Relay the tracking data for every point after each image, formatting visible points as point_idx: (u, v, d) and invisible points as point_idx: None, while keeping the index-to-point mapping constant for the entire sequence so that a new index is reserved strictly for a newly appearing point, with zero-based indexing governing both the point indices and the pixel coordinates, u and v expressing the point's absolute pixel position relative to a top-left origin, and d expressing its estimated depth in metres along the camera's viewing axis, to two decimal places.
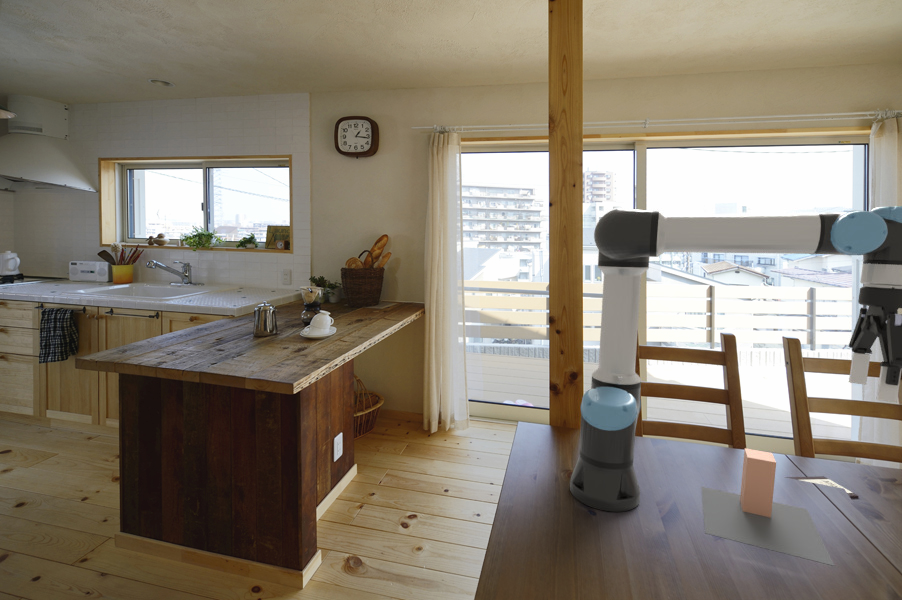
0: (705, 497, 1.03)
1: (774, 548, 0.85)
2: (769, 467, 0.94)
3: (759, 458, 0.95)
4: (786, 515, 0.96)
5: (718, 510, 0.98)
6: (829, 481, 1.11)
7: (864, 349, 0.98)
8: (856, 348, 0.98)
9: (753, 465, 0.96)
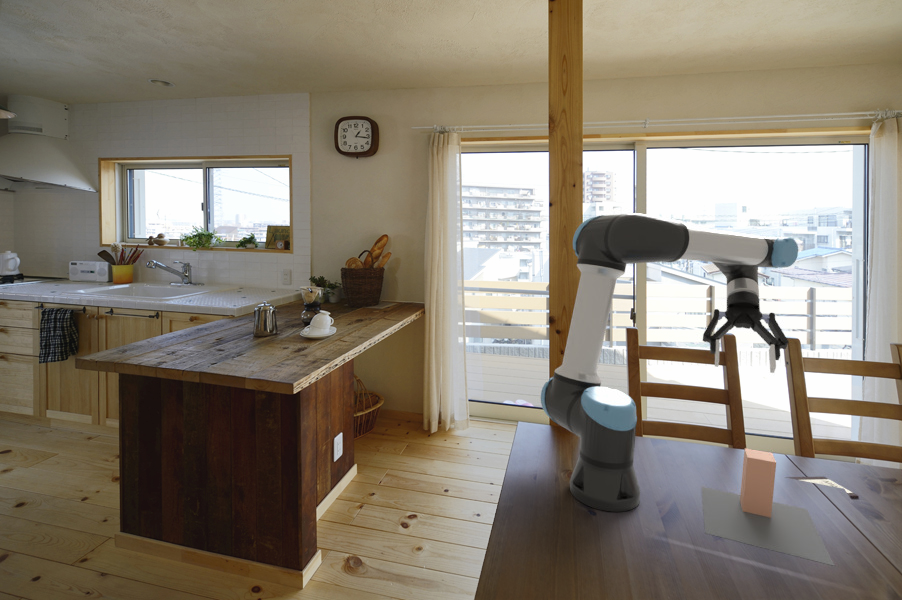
0: (705, 497, 1.03)
1: (774, 548, 0.85)
2: (769, 467, 0.94)
3: (759, 458, 0.95)
4: (786, 515, 0.96)
5: (718, 510, 0.98)
6: (829, 481, 1.11)
7: None
8: (718, 336, 1.19)
9: (753, 465, 0.96)
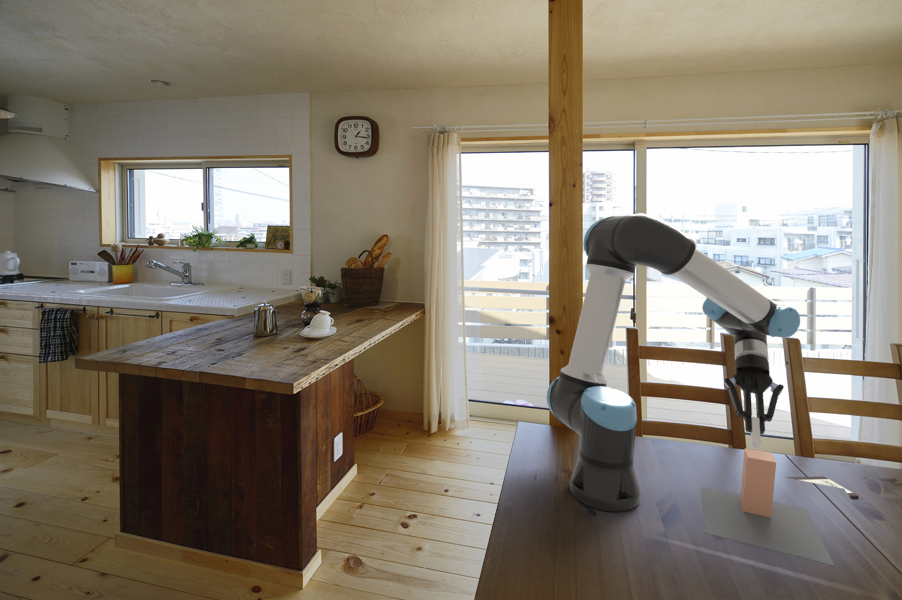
0: (705, 497, 1.03)
1: (774, 548, 0.85)
2: (769, 467, 0.94)
3: (759, 458, 0.95)
4: (786, 515, 0.96)
5: (718, 510, 0.98)
6: (829, 481, 1.11)
7: None
8: (751, 411, 1.12)
9: (753, 465, 0.96)
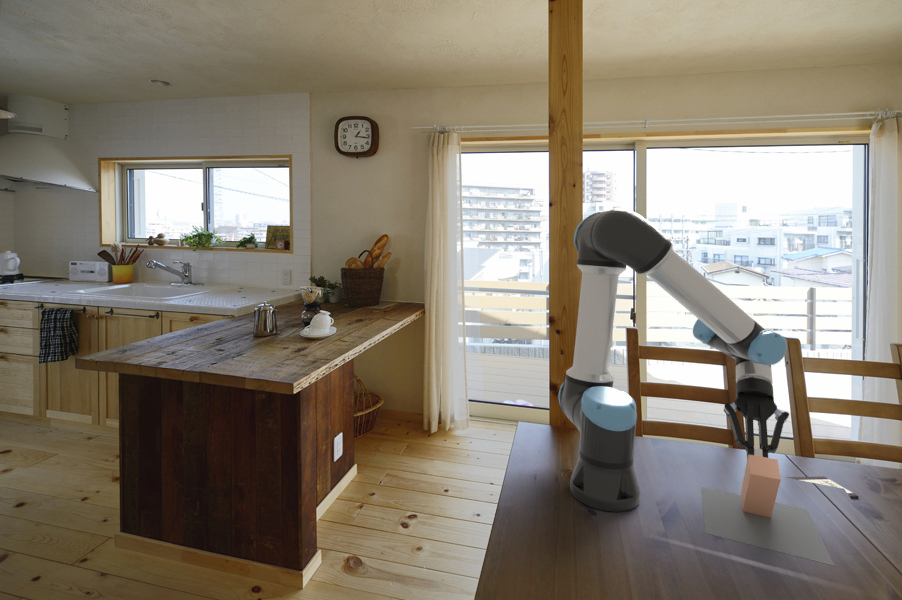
0: (705, 497, 1.03)
1: (774, 548, 0.85)
2: (773, 482, 0.90)
3: (762, 475, 0.91)
4: (786, 515, 0.96)
5: (718, 510, 0.98)
6: (829, 481, 1.11)
7: None
8: (753, 441, 1.02)
9: (756, 480, 0.92)
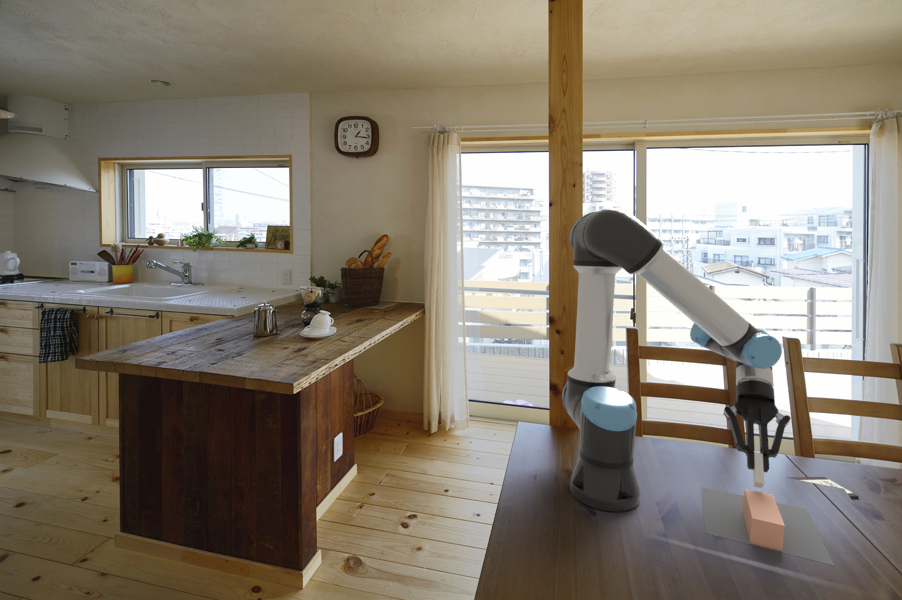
0: (705, 497, 1.03)
1: None
2: None
3: (763, 545, 0.86)
4: (786, 515, 0.96)
5: (718, 510, 0.98)
6: (829, 481, 1.11)
7: None
8: None
9: None
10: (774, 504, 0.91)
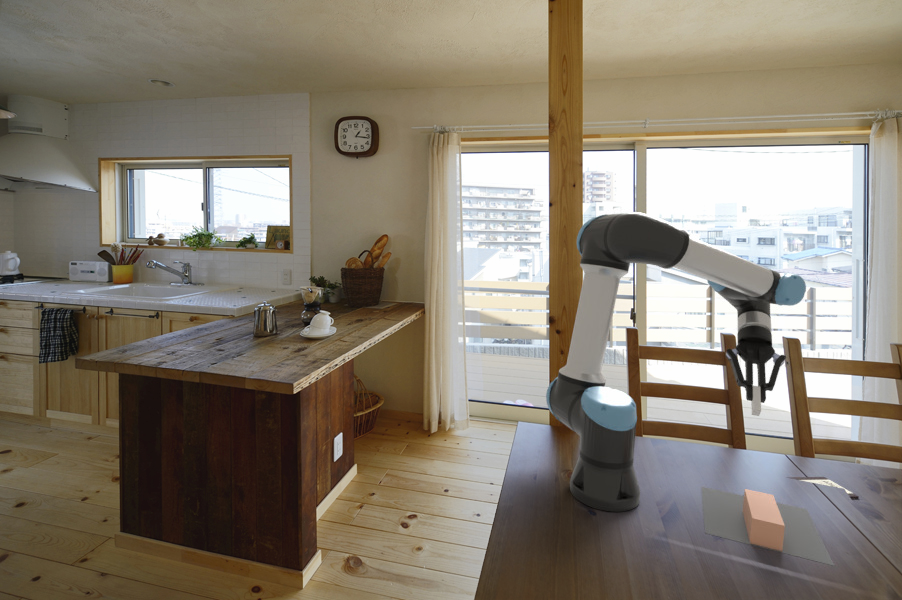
0: (705, 497, 1.03)
1: None
2: None
3: (763, 545, 0.86)
4: (786, 515, 0.96)
5: (718, 510, 0.98)
6: (829, 481, 1.11)
7: None
8: (752, 380, 1.12)
9: None
10: (774, 504, 0.91)
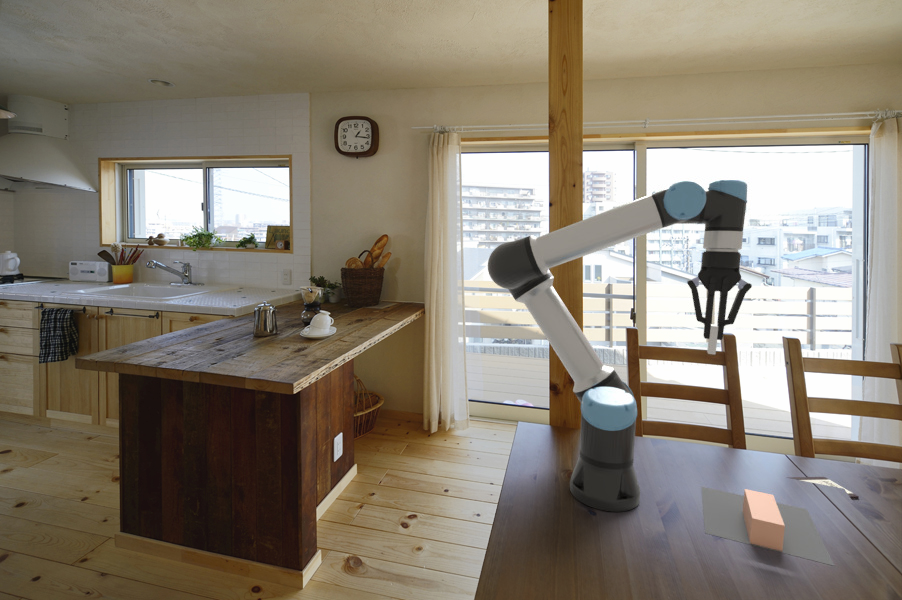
0: (705, 497, 1.03)
1: None
2: None
3: (763, 545, 0.86)
4: (786, 515, 0.96)
5: (718, 510, 0.98)
6: (829, 481, 1.11)
7: None
8: (711, 318, 1.04)
9: None
10: (774, 504, 0.91)
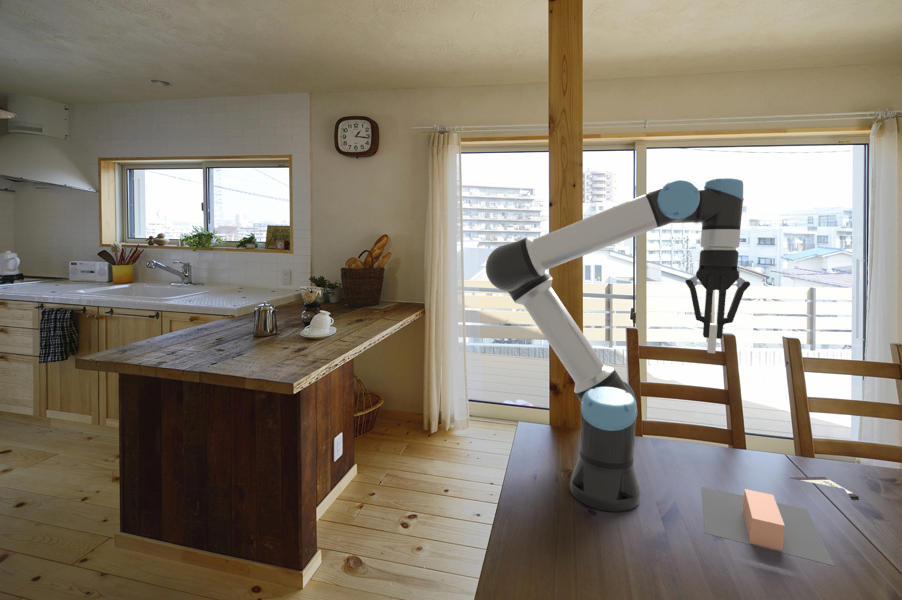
0: (705, 497, 1.03)
1: None
2: None
3: (763, 545, 0.86)
4: (786, 515, 0.96)
5: (718, 510, 0.98)
6: (829, 482, 1.11)
7: None
8: (710, 317, 1.04)
9: None
10: (774, 504, 0.91)
